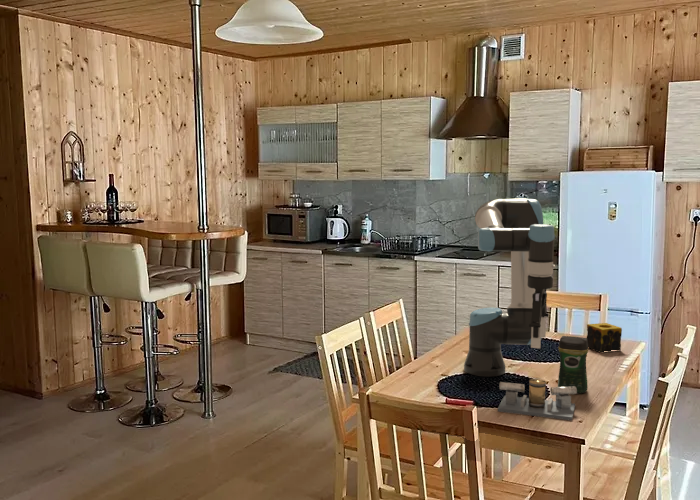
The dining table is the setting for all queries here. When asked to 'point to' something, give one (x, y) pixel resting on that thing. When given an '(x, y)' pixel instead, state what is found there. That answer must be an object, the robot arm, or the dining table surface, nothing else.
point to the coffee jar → (573, 363)
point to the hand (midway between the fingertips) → (538, 342)
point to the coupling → (537, 393)
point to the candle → (604, 337)
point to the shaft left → (511, 391)
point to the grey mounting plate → (537, 409)
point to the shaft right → (563, 396)
